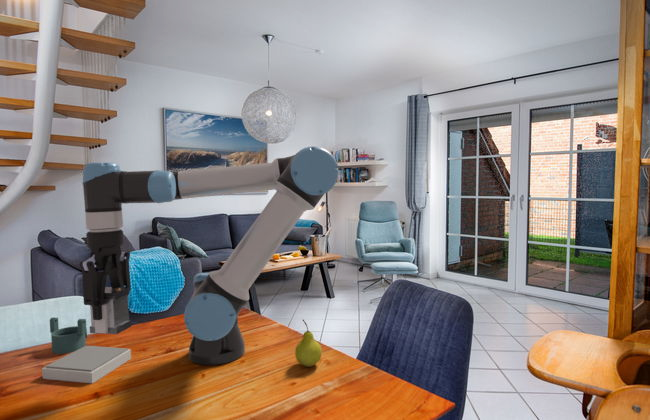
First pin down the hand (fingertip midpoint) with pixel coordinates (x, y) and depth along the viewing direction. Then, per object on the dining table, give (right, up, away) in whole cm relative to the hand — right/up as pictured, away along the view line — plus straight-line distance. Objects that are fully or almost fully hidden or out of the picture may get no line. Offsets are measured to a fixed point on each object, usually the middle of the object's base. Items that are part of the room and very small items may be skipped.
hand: (110, 327), depth 94 cm
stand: (-11, -13, +10) cm, 20 cm away
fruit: (+46, -13, +10) cm, 49 cm away
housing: (0, 0, 0) cm, 0 cm away
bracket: (-25, -13, +23) cm, 36 cm away
